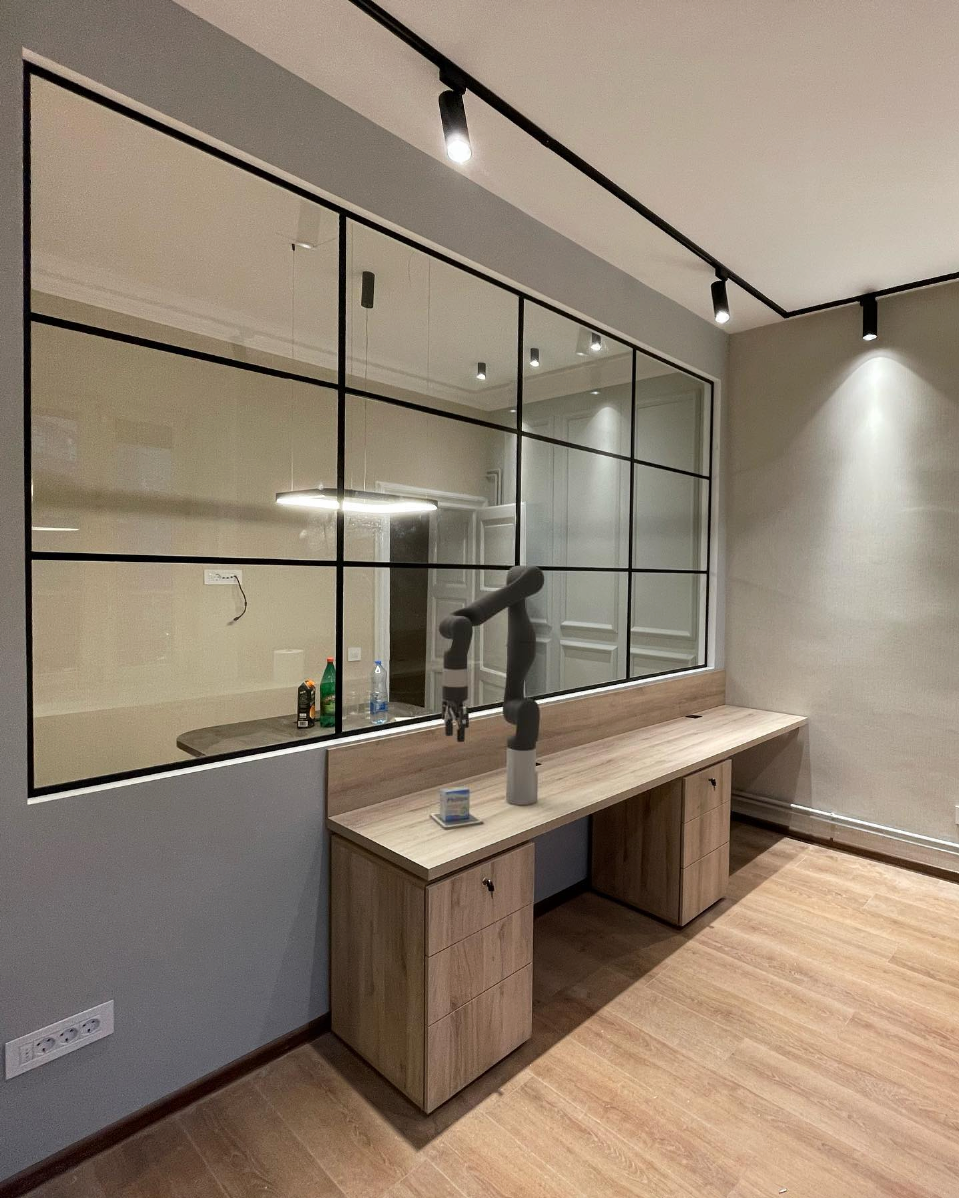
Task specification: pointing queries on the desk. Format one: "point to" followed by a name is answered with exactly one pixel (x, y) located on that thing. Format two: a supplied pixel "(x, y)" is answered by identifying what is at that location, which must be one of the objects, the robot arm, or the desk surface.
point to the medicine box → (454, 803)
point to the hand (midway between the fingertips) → (454, 738)
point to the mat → (456, 821)
